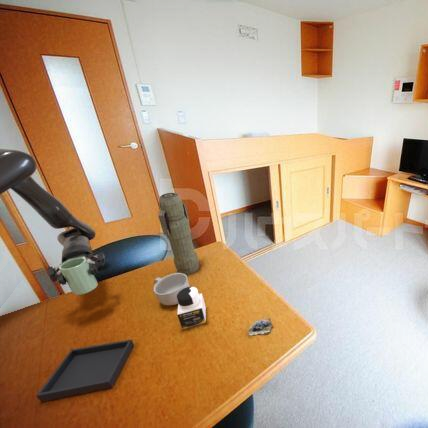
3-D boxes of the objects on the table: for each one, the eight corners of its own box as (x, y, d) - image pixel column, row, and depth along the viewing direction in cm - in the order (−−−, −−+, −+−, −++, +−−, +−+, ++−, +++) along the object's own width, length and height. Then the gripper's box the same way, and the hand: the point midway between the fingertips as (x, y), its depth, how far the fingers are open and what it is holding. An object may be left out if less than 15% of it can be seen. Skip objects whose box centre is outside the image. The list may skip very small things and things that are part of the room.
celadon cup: (68, 296, 74) (53, 270, 70) (81, 283, 79) (67, 258, 75) (90, 293, 75) (77, 268, 71) (101, 280, 81) (90, 256, 76)
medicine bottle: (182, 330, 77) (172, 302, 72) (183, 313, 83) (175, 287, 78) (205, 322, 80) (198, 296, 75) (205, 307, 86) (199, 281, 81)
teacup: (197, 295, 91) (193, 279, 87) (168, 315, 83) (162, 297, 79) (177, 282, 98) (173, 266, 94) (149, 298, 89) (142, 281, 86)
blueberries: (275, 331, 77) (274, 327, 76) (250, 342, 74) (249, 338, 73) (268, 316, 83) (268, 312, 82) (245, 326, 79) (244, 321, 78)
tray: (41, 401, 58) (35, 395, 57) (75, 355, 69) (71, 349, 68) (112, 387, 62) (108, 381, 60) (134, 345, 72) (131, 339, 71)
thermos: (170, 276, 100) (145, 200, 85) (187, 260, 111) (168, 189, 96) (189, 278, 99) (168, 201, 85) (205, 261, 110) (188, 190, 95)
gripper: (42, 252, 78) (38, 278, 67) (100, 237, 87) (104, 258, 76) (53, 271, 81) (50, 298, 70) (107, 254, 90) (112, 276, 79)
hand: (78, 277), depth 73 cm, fingers closed on celadon cup, 6 cm apart
